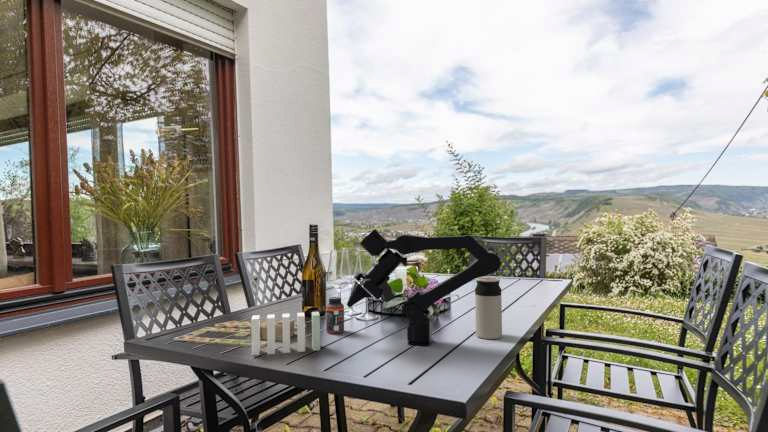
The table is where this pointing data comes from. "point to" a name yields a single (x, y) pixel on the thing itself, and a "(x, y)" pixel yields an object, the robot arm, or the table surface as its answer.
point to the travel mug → (488, 308)
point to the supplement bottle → (335, 316)
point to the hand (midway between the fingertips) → (347, 306)
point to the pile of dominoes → (236, 333)
